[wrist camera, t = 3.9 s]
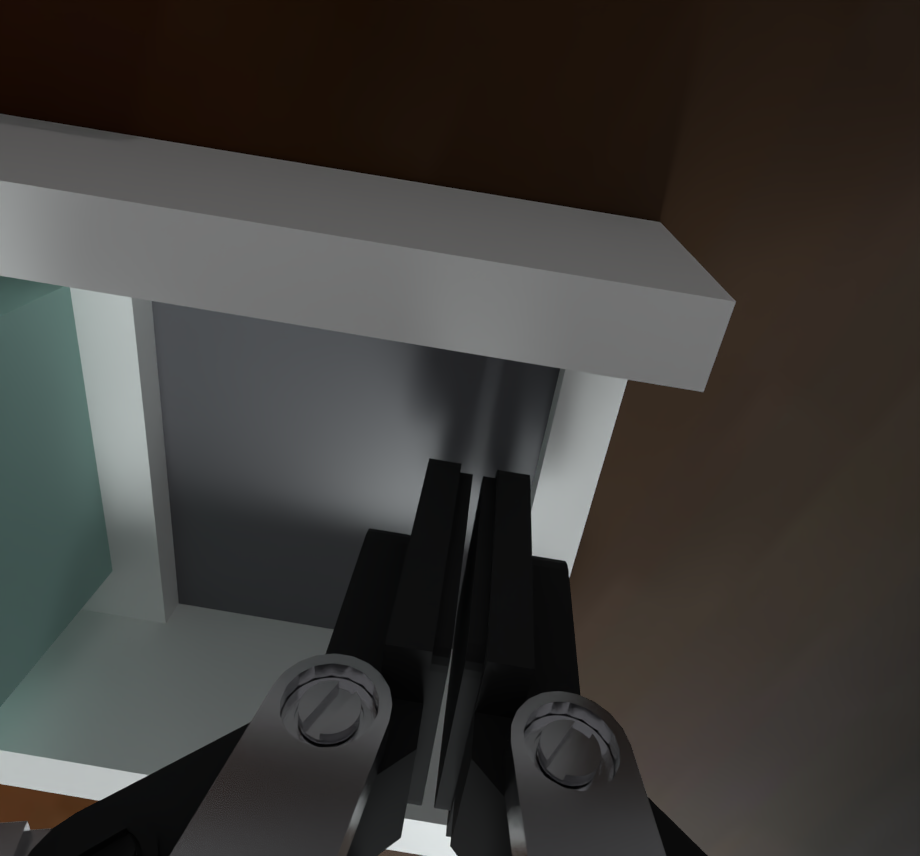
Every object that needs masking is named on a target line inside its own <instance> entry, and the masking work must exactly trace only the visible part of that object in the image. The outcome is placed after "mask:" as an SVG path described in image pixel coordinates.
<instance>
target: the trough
mask: <svg viewBox="0 0 920 856" xmlns="http://www.w3.org/2000/svg"><path fill="white" fill-rule="evenodd" d="M0 276H5V277H11V278H17V279H23V280H29V281H35V282H41V283H47V284H53V285H59V286H65V287H70V292H71V299H72V305H73V312H74V319H75V325H76V332H77V339H78V345H79V352H80V358H81V365H82V372H83V378H84V385H85V391H86V398H87V405H88V411H89V418H90V425H91V431H92V438H93V444H94V451H95V458H96V464H97V471H98V478H99V484H100V491H101V497H102V504H103V511H104V517H105V524H106V531H107V537H108V544H109V550H110V557H111V564H112V570H113V571H112V572H111V574H110V575H109V576H108V577H107V578H106V580H105V581H104V582H103V583H102V584H101V586H100V587H99V588H98V589H97V591H96V592H95V593H94V594H93V595H92V597H91V598H90V599H89V600H88V601H87V603H86V604H85V605H84V606H83V607H82V609H81V610H80V611H79V612H78V614H77V615H76V616H75V617H74V618H73V620H72V621H71V622H70V623H69V624H68V626H67V627H66V628H65V629H64V630H63V632H62V633H61V634H60V635H59V637H58V638H57V639H56V640H55V641H54V643H53V644H52V645H51V646H50V647H49V649H48V650H47V651H46V652H45V653H44V655H43V656H42V657H41V658H40V659H39V661H38V662H37V663H36V664H35V666H34V667H33V668H32V669H31V670H30V672H29V673H28V674H27V675H26V676H25V678H24V679H23V680H22V681H21V682H20V684H19V685H18V686H17V687H16V689H15V690H14V691H13V692H12V693H11V695H10V696H9V697H8V698H7V699H6V701H5V702H4V703H3V704H2V705H1V707H0V784H5V785H11V786H17V787H22V788H28V789H34V790H40V791H46V792H52V793H58V794H64V795H70V796H76V797H82V798H87V799H93V800H99V801H100V800H102V799H104V798H106V797H108V796H110V795H112V794H113V793H115V792H117V791H119V790H121V789H123V788H125V787H127V786H129V785H131V784H133V783H135V782H136V781H138V780H140V779H142V778H144V777H146V776H148V775H150V774H152V773H154V772H156V771H158V770H159V769H161V768H163V767H165V766H167V765H169V764H171V763H173V762H175V761H177V760H179V759H181V758H182V757H184V756H186V755H188V754H190V753H192V752H194V751H196V750H198V749H200V748H202V747H204V746H205V745H207V744H209V743H211V742H213V741H215V740H217V739H219V738H221V737H223V736H225V735H227V734H228V733H230V732H232V731H234V730H236V729H238V728H240V727H242V726H244V725H246V724H248V723H250V722H251V720H252V719H253V717H254V715H255V714H256V712H257V711H258V709H259V707H260V706H261V704H262V702H263V701H264V699H265V697H266V696H267V694H268V692H269V691H270V689H271V687H272V686H273V684H274V683H275V682H276V681H277V680H278V678H279V677H280V676H281V675H282V674H283V673H284V671H286V670H287V669H289V668H290V667H292V666H293V665H295V664H296V663H298V662H299V661H302V660H305V659H308V658H310V657H313V656H316V655H325V654H326V651H327V648H328V645H329V642H330V639H331V636H332V633H333V630H334V627H335V624H336V621H337V618H338V616H339V613H340V610H341V607H342V604H343V601H344V598H345V595H346V592H347V589H348V586H349V583H350V580H351V577H352V574H353V571H354V568H355V565H356V562H357V559H358V556H359V553H360V550H361V547H362V545H363V542H364V539H365V536H366V533H367V531H368V529H369V528H371V529H377V530H383V531H389V532H395V533H401V534H407V535H411V532H412V528H413V524H414V520H415V516H416V512H417V507H418V503H419V499H420V495H421V491H422V487H423V482H424V478H425V474H426V470H427V466H428V462H429V459H430V458H431V459H437V460H443V461H449V462H455V463H461V471H460V472H462V473H468V474H473V479H472V487H471V495H470V503H469V512H468V520H467V528H466V537H465V545H464V553H463V562H462V570H461V578H460V587H459V595H458V603H457V610H458V604H459V598H460V593H461V587H462V582H463V577H464V572H465V566H466V561H467V556H468V551H469V546H470V540H471V535H472V530H473V525H474V520H475V514H476V509H477V504H478V499H479V494H480V488H481V483H482V479H483V476H486V477H492V478H495V475H496V472H497V470H503V471H509V472H515V473H521V474H527V475H530V485H531V528H532V556H538V557H544V558H550V559H556V560H562V561H566V563H567V565H568V571H569V577H570V574H571V571H572V567H573V564H574V560H575V557H576V554H577V550H578V547H579V543H580V540H581V537H582V533H583V530H584V526H585V523H586V520H587V516H588V513H589V509H590V506H591V503H592V499H593V496H594V492H595V489H596V486H597V482H598V479H599V475H600V472H601V469H602V465H603V462H604V458H605V455H606V452H607V448H608V445H609V441H610V438H611V435H612V431H613V428H614V424H615V421H616V418H617V414H618V411H619V407H620V404H621V401H622V397H623V394H624V390H625V387H626V384H627V380H633V381H639V382H645V383H651V384H657V385H663V386H670V387H676V388H682V389H688V390H694V391H700V392H704V389H705V386H706V383H707V381H708V378H709V375H710V372H711V370H712V367H713V364H714V361H715V358H716V356H717V353H718V350H719V347H720V345H721V342H722V339H723V336H724V333H725V331H726V328H727V325H728V322H729V320H730V317H731V314H732V311H733V308H734V306H735V303H736V301H735V300H734V299H733V298H732V297H731V296H730V295H729V294H728V293H727V292H726V291H725V290H724V289H723V288H722V287H721V285H720V284H719V283H718V282H717V281H716V280H715V279H714V278H713V277H712V276H711V275H710V274H709V273H708V272H707V271H706V270H705V269H704V268H703V267H702V265H701V264H700V263H699V262H698V261H697V260H696V259H695V258H694V257H693V256H692V255H691V254H690V253H689V252H688V251H687V250H686V249H685V248H684V247H683V246H682V244H681V243H680V242H679V241H678V240H677V239H676V238H675V237H674V236H673V235H672V234H671V233H670V232H669V231H668V230H667V229H666V228H665V227H664V226H663V225H662V223H661V222H657V221H651V220H644V219H638V218H632V217H626V216H620V215H614V214H608V213H602V212H596V211H590V210H584V209H577V208H571V207H565V206H559V205H553V204H547V203H541V202H535V201H529V200H523V199H517V198H510V197H504V196H498V195H492V194H486V193H480V192H474V191H468V190H462V189H456V188H450V187H443V186H437V185H431V184H425V183H419V182H413V181H407V180H401V179H395V178H389V177H383V176H377V175H370V174H364V173H358V172H352V171H346V170H340V169H334V168H328V167H322V166H316V165H310V164H303V163H297V162H291V161H285V160H279V159H273V158H267V157H261V156H255V155H249V154H243V153H236V152H230V151H224V150H218V149H212V148H206V147H200V146H194V145H188V144H182V143H176V142H170V141H163V140H157V139H151V138H145V137H139V136H133V135H127V134H121V133H115V132H109V131H103V130H96V129H90V128H84V127H78V126H72V125H66V124H60V123H54V122H48V121H42V120H36V119H29V118H23V117H17V116H11V115H5V114H0ZM456 617H457V611H456ZM455 625H456V620H455ZM454 634H455V628H454ZM453 642H454V636H453ZM452 651H453V643H452V650H451V657H450V663H449V669H448V674H447V679H446V684H445V689H444V694H443V700H442V705H441V710H440V715H439V720H438V725H437V730H436V736H435V741H434V746H433V751H432V756H431V761H430V766H429V771H428V777H427V782H426V787H425V792H424V797H423V802H422V806H419V805H413V804H407V807H406V812H405V818H404V824H403V829H402V835H401V838H400V839H399V840H397V841H396V842H395V843H393V844H392V845H391V846H389V847H388V848H387V849H389V850H395V851H401V852H407V853H413V854H419V855H425V856H457V855H456V853H455V852H454V851H453V849H452V848H451V847H450V842H451V837H447V836H446V829H447V819H448V810H443V809H437V808H434V802H435V793H436V785H437V776H438V768H439V760H440V751H441V743H442V734H443V726H444V718H445V709H446V701H447V693H448V684H449V676H450V667H451V659H452Z"/></svg>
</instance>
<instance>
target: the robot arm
mask: <svg viewBox="0 0 920 856" xmlns="http://www.w3.org/2000/svg"><path fill="white" fill-rule="evenodd" d="M460 471H461V463H455V462H449V461H443V460H437V459H431V458H430V459H429V462H428V466H427V470H426V474H425V478H424V482H423V487H422V491H421V495H420V499H419V503H418V507H417V512H416V516H415V520H414V524H413V528H412V532H411V535H407V534H401V533H395V532H389V531H383V530H377V529H371V528H369V529H368V531H367V533H366V536H365V539H364V542H363V545H362V547H361V550H360V553H359V556H358V559H357V562H356V565H355V568H354V571H353V574H352V577H351V580H350V583H349V586H348V589H347V592H346V595H345V598H344V601H343V604H342V607H341V610H340V613H339V616H338V618H337V621H336V624H335V627H334V630H333V633H332V636H331V639H330V642H329V645H328V648H327V651H326V654H325V655H316V656H313V657H310V658H308V659H305V660H302V661H299V662H298V663H296V664H295V665H293V666H292V667H290V668H289V669H287V670H286V671H284V673H283V674H282V675H281V676H280V677H279V678H278V680H277V681H276V682H275V683H274V684H273V686H272V687H271V689H270V691H269V692H268V694H267V696H266V697H265V699H264V701H263V702H262V704H261V706H260V707H259V709H258V711H257V712H256V714H255V715H254V717H253V719H252V720H251V722H250V723H248V724H246V725H244V726H242V727H240V728H238V729H236V730H234V731H232V732H230V733H228V734H227V735H225V736H223V737H221V738H219V739H217V740H215V741H213V742H211V743H209V744H207V745H205V746H204V747H202V748H200V749H198V750H196V751H194V752H192V753H190V754H188V755H186V756H184V757H182V758H181V759H179V760H177V761H175V762H173V763H171V764H169V765H167V766H165V767H163V768H161V769H159V770H158V771H156V772H154V773H152V774H150V775H148V776H146V777H144V778H142V779H140V780H138V781H136V782H135V783H133V784H131V785H129V786H127V787H125V788H123V789H121V790H119V791H117V792H115V793H113V794H112V795H110V796H108V797H106V798H104V799H102V800H100V801H98V802H96V803H94V804H92V805H90V806H89V807H87V808H85V809H83V810H81V811H79V812H77V813H75V814H74V815H72V816H71V817H69V818H68V819H66V820H65V821H63V822H62V823H60V824H59V825H57V826H56V827H54V828H53V829H39V830H30V828H29V825H28V822H27V821H22V822H8V823H0V856H377V855H379V854H380V853H381V852H383V851H384V850H385V849H387V848H388V847H389V846H391V845H392V844H393V843H395V842H396V841H397V840H399V839H400V838H401V835H402V829H403V824H404V818H405V812H406V807H407V804H413V805H419V806H422V802H423V797H424V792H425V787H426V782H427V777H428V771H429V766H430V761H431V756H432V751H433V746H434V741H435V736H436V730H437V725H438V720H439V715H440V710H441V705H442V700H443V694H444V689H445V684H446V679H447V674H448V669H449V663H450V657H451V650H452V643H453V651H452V659H451V667H450V676H449V684H448V693H447V701H446V709H445V718H444V726H443V734H442V743H441V751H440V760H439V768H438V776H437V785H436V793H435V802H434V808H437V809H443V810H448V819H447V829H446V836H447V837H451V842H450V847H451V848H452V849H453V851H454V852H455V853H456V855H457V856H707V855H706V854H705V853H704V852H703V851H702V850H701V849H700V848H699V847H698V846H697V845H696V844H695V843H694V842H693V841H692V840H691V839H690V838H689V837H688V836H687V835H686V834H685V833H684V832H683V831H682V830H681V829H680V828H679V827H678V826H677V825H676V824H675V823H674V822H673V821H672V820H671V819H670V818H669V817H668V816H667V815H666V814H665V813H664V812H662V811H661V810H660V809H659V808H658V807H657V806H656V805H655V804H654V803H653V802H652V801H651V800H650V799H649V798H648V797H647V794H646V791H645V788H644V784H643V781H642V778H641V775H640V772H639V769H638V766H637V763H636V759H635V756H634V753H633V750H632V747H631V744H630V742H629V740H628V738H627V736H626V734H625V732H624V730H623V728H622V727H621V726H620V724H619V723H618V722H617V721H616V720H615V719H614V717H613V716H612V715H611V714H610V713H609V712H608V711H606V710H605V709H604V708H602V707H601V706H600V705H598V704H597V703H596V702H594V701H592V700H589V699H587V698H585V697H583V696H580V686H579V675H578V665H577V655H576V644H575V634H574V623H573V613H572V602H571V592H570V581H569V571H568V565H567V563H566V561H562V560H556V559H550V558H544V557H538V556H532V528H531V485H530V475H527V474H521V473H515V472H509V471H503V470H497V472H496V475H495V478H492V477H486V476H483V479H482V483H481V488H480V494H479V499H478V504H477V509H476V514H475V520H474V525H473V530H472V535H471V540H470V546H469V551H468V556H467V561H466V566H465V572H464V577H463V582H462V587H461V593H460V598H459V604H458V610H457V603H458V595H459V587H460V578H461V570H462V562H463V553H464V545H465V537H466V528H467V520H468V512H469V503H470V495H471V487H472V479H473V474H468V473H462V472H460ZM456 611H457V617H456ZM455 620H456V625H455ZM454 628H455V634H454ZM453 636H454V642H453Z"/></svg>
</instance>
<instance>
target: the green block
mask: <svg viewBox="0 0 920 856" xmlns="http://www.w3.org/2000/svg"><path fill="white" fill-rule="evenodd" d="M112 571H113V570H112V564H111V557H110V550H109V544H108V537H107V531H106V524H105V517H104V511H103V504H102V497H101V491H100V484H99V478H98V471H97V464H96V458H95V451H94V444H93V438H92V431H91V425H90V418H89V411H88V405H87V398H86V391H85V385H84V378H83V372H82V365H81V358H80V352H79V345H78V339H77V332H76V325H75V319H74V312H73V305H72V299H71V292H70V287H65V286H59V285H53V284H47V283H41V282H35V281H29V280H23V279H17V278H11V277H5V276H0V707H1V705H2V704H3V703H4V702H5V701H6V699H7V698H8V697H9V696H10V695H11V693H12V692H13V691H14V690H15V689H16V687H17V686H18V685H19V684H20V682H21V681H22V680H23V679H24V678H25V676H26V675H27V674H28V673H29V672H30V670H31V669H32V668H33V667H34V666H35V664H36V663H37V662H38V661H39V659H40V658H41V657H42V656H43V655H44V653H45V652H46V651H47V650H48V649H49V647H50V646H51V645H52V644H53V643H54V641H55V640H56V639H57V638H58V637H59V635H60V634H61V633H62V632H63V630H64V629H65V628H66V627H67V626H68V624H69V623H70V622H71V621H72V620H73V618H74V617H75V616H76V615H77V614H78V612H79V611H80V610H81V609H82V607H83V606H84V605H85V604H86V603H87V601H88V600H89V599H90V598H91V597H92V595H93V594H94V593H95V592H96V591H97V589H98V588H99V587H100V586H101V584H102V583H103V582H104V581H105V580H106V578H107V577H108V576H109V575H110V574H111V572H112Z"/></svg>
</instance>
